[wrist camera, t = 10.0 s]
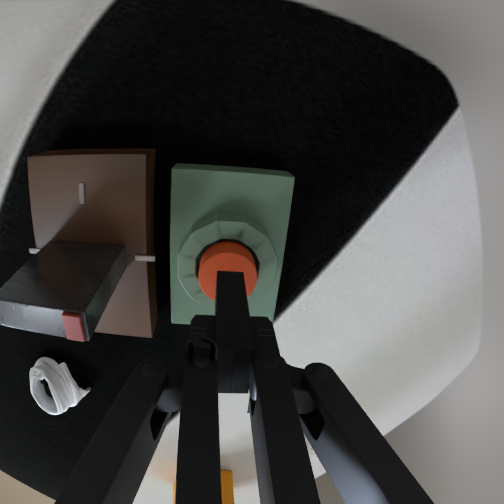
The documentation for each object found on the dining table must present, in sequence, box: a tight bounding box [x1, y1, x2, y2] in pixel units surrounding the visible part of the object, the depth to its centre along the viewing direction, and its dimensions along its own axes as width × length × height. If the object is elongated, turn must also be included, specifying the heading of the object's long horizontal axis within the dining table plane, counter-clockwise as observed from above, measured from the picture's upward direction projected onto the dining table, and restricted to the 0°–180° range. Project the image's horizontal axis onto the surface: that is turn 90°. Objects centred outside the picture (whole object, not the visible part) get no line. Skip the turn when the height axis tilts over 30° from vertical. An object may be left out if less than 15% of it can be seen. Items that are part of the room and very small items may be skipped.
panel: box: [28, 148, 158, 338], centre depth 22 cm, size 14×10×3 cm
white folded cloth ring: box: [30, 357, 91, 415], centre depth 27 cm, size 8×7×5 cm
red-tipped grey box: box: [0, 241, 126, 342], centre depth 17 cm, size 6×2×8 cm, turn 84°
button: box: [198, 241, 257, 301], centre depth 21 cm, size 4×4×2 cm
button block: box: [170, 163, 295, 324], centre depth 23 cm, size 12×8×4 cm, turn 174°
